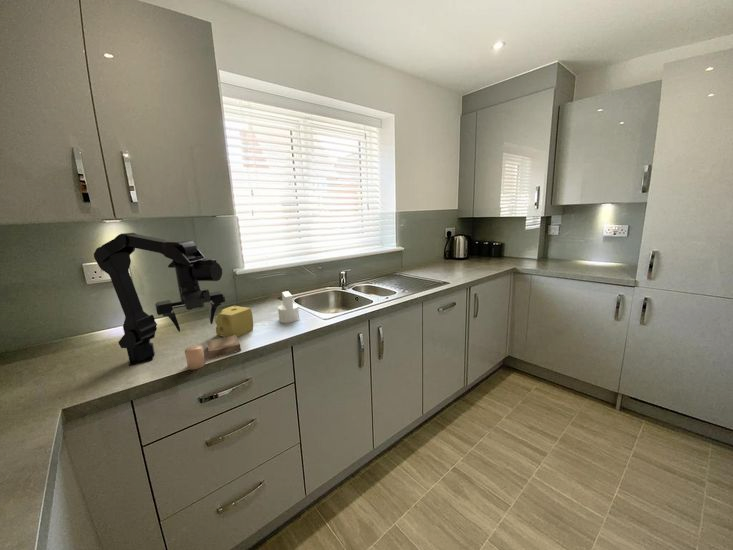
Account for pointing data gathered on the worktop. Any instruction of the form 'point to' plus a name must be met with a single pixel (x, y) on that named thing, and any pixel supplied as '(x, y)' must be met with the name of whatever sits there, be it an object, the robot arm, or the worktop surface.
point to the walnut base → (223, 346)
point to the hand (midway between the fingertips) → (195, 327)
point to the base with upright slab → (288, 309)
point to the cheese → (234, 321)
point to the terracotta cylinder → (195, 357)
